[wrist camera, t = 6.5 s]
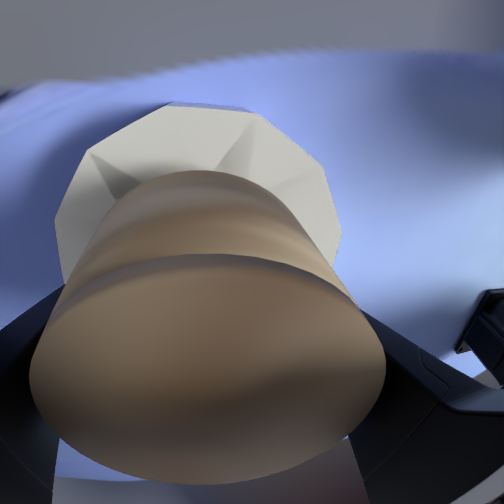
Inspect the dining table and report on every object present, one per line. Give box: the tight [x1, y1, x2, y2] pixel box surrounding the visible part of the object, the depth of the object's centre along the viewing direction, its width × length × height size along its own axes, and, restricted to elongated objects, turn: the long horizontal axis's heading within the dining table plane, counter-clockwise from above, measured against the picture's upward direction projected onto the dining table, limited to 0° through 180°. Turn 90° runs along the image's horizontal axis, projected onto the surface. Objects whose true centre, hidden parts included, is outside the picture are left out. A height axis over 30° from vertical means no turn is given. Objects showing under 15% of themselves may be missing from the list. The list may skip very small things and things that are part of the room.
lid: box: [29, 170, 386, 485], centre depth 8 cm, size 7×7×5 cm
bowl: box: [54, 102, 342, 284], centre depth 12 cm, size 10×10×3 cm
